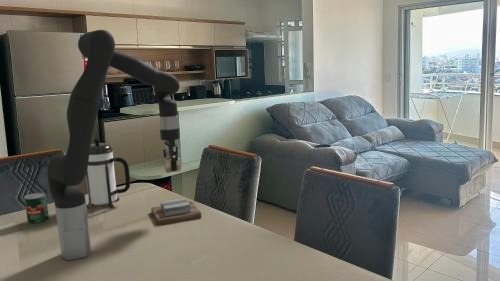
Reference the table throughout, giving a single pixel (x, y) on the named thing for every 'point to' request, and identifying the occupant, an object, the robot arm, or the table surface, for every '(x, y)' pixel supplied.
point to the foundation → (175, 211)
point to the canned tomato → (36, 208)
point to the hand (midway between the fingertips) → (172, 168)
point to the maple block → (168, 165)
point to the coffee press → (103, 175)
